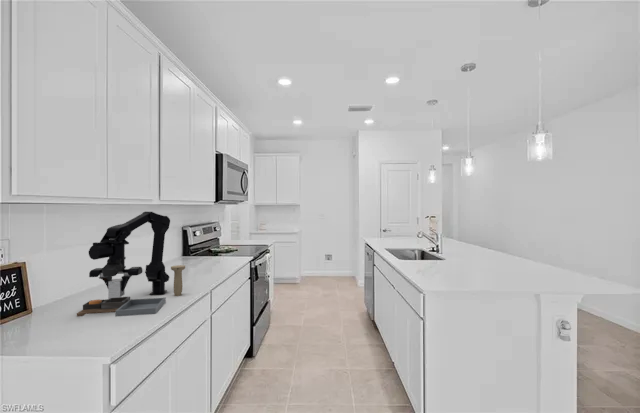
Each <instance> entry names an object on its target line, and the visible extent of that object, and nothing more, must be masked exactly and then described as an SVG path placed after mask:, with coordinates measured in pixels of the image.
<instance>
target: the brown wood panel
mask: <svg viewBox="0 0 640 413" xmlns="http://www.w3.org/2000/svg"><path fill="white" fill-rule="evenodd" d="M101 300H102V302H101V303H100V304H89V301H87V302H85V303H84V304H82V309H81V310H80V311H78V312H76V317H83V316H85V315H91V314H106V313H107V314H108V313H115V312H116V310H117V309H118V308H120V307H121V306H122V305H124V304H125V303H126V302H127V301H129V300H131V296H121V297H118V298H108V299H101ZM90 301H92V300H91V299H90Z"/></svg>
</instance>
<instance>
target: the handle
mask: <svg viewBox="0 0 640 413" xmlns="http://www.w3.org/2000/svg"><path fill="white" fill-rule="evenodd" d="M185 269H186V265H184V264H180V265H179V264H178V265H172V266H170V270H171V271H173V272H174V273H173V276H174V277H173V296H174V297H181V296H182V293H183V271H184V270H185Z"/></svg>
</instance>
